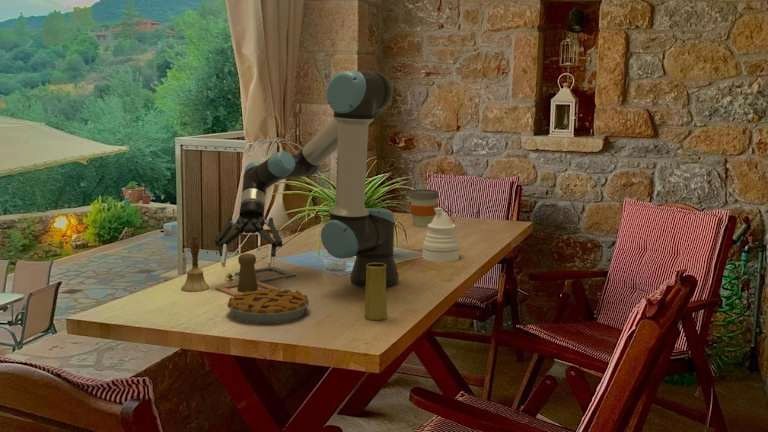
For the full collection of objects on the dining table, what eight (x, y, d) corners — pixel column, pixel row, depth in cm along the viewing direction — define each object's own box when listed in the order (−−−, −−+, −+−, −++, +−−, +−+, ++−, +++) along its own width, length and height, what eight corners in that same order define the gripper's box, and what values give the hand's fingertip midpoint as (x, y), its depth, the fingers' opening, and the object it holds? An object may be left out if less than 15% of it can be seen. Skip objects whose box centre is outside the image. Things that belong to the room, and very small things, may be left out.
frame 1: (280, 291, 239) (280, 289, 239) (239, 298, 230) (239, 296, 230) (255, 281, 250) (255, 279, 249) (214, 289, 240) (214, 287, 240)
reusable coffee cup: (442, 224, 352) (442, 190, 350) (431, 229, 341) (432, 194, 338) (415, 222, 357) (416, 188, 355) (404, 226, 346) (405, 192, 343)
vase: (363, 314, 217) (363, 262, 214) (386, 313, 217) (386, 262, 215) (364, 320, 211) (365, 267, 208) (388, 320, 211) (388, 267, 209)
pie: (240, 301, 229) (240, 284, 228) (316, 304, 226) (316, 287, 226) (216, 324, 207) (216, 305, 206) (300, 327, 205) (300, 308, 204)
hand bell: (214, 286, 244) (213, 234, 241) (200, 293, 236) (198, 239, 233) (191, 283, 246) (189, 232, 244) (175, 290, 239) (173, 237, 236)
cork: (253, 293, 236) (253, 256, 235) (234, 292, 238) (233, 255, 236) (260, 288, 242) (260, 252, 240) (241, 286, 243) (241, 251, 242)
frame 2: (296, 276, 257) (296, 274, 257) (258, 283, 248) (258, 281, 248) (272, 268, 268) (272, 266, 267) (235, 274, 258) (235, 272, 258)
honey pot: (440, 263, 278) (442, 211, 275) (415, 257, 287) (416, 207, 284) (466, 258, 286) (467, 208, 283) (440, 252, 295) (441, 203, 292)
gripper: (293, 214, 254) (289, 271, 241) (214, 213, 253) (205, 271, 241) (291, 199, 247) (287, 258, 235) (210, 199, 247) (201, 258, 235)
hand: (246, 265), depth 238 cm, fingers open, 13 cm apart
